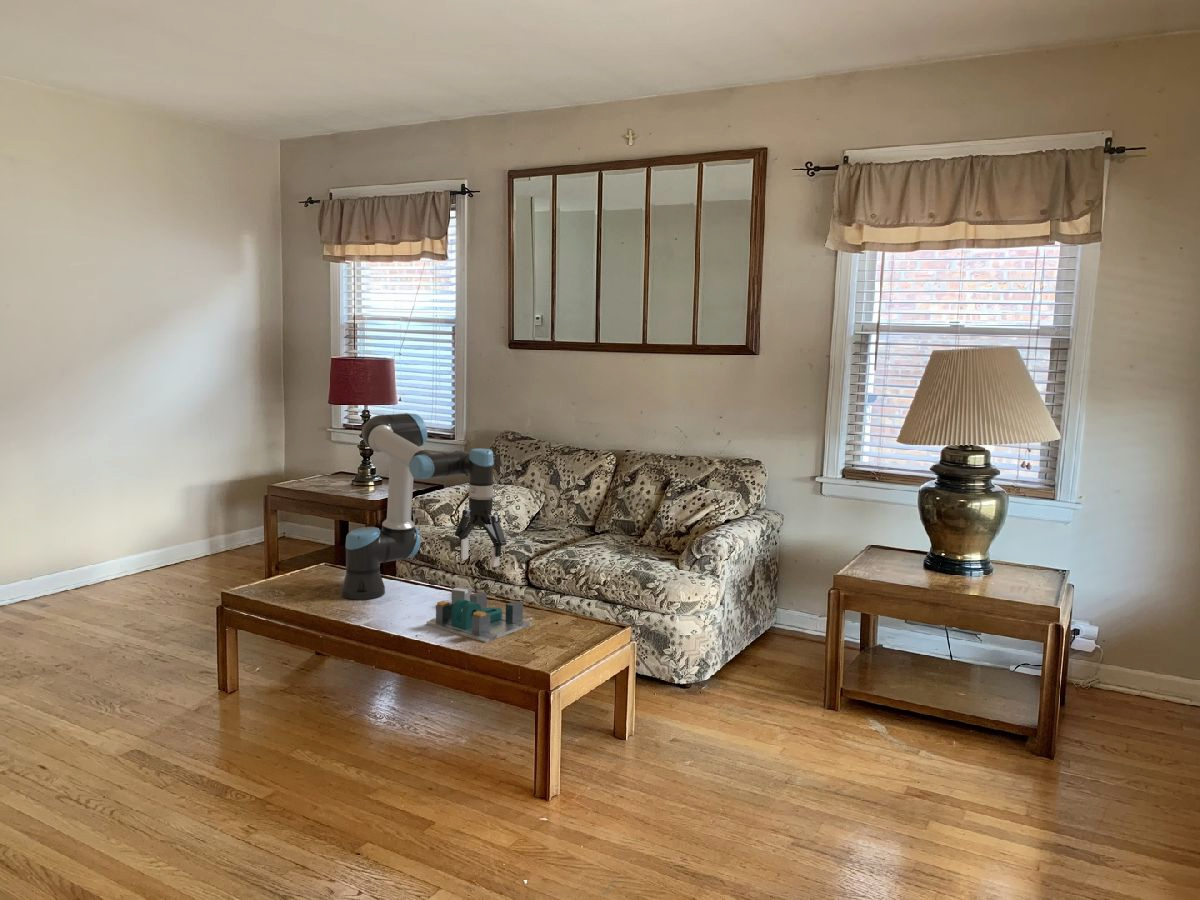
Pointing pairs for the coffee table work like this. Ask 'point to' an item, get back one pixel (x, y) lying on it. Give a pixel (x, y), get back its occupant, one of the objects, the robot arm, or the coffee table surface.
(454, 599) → the block
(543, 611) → the coffee table surface
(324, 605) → the coffee table surface
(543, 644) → the coffee table surface
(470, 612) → the bracket
